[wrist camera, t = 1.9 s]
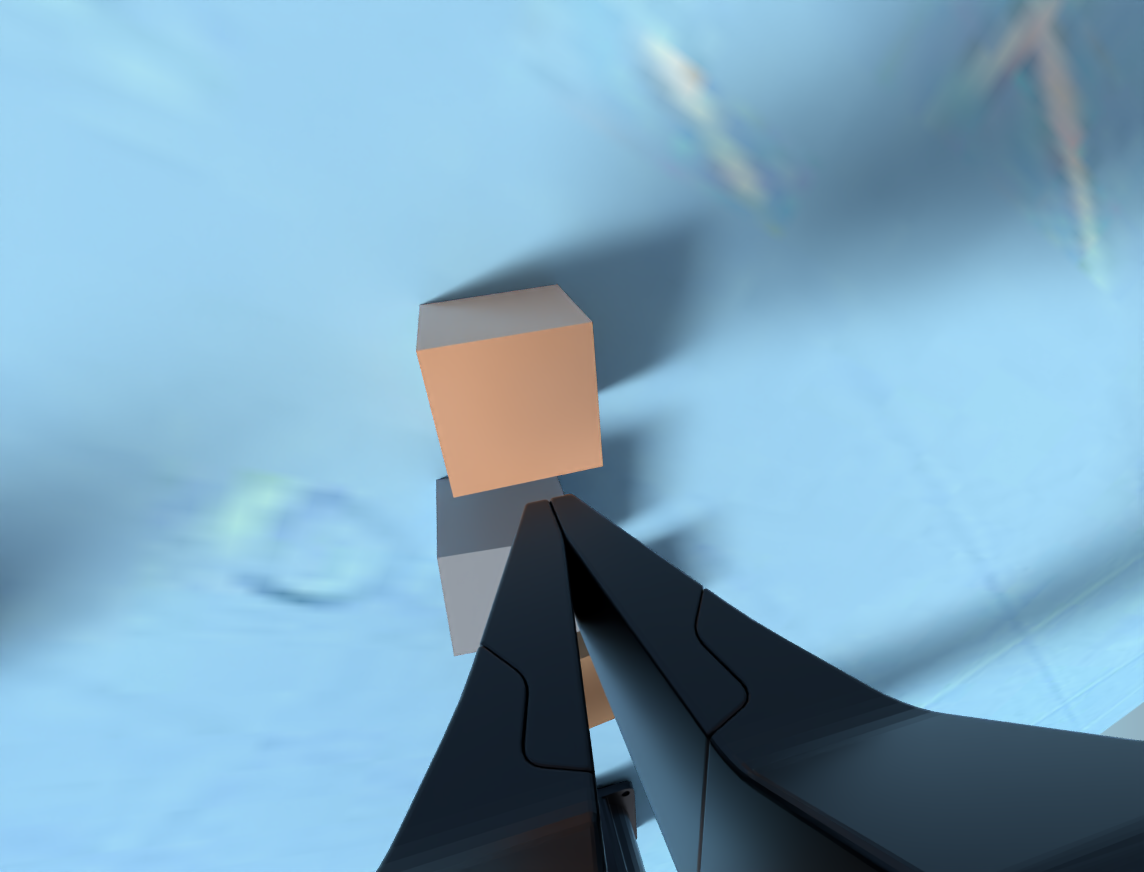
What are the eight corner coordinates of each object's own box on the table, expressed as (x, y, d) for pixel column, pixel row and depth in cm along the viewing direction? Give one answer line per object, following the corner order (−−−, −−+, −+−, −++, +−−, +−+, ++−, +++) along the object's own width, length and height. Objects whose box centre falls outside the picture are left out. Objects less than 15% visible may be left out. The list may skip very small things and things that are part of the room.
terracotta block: (569, 404, 17) (602, 466, 14) (449, 426, 17) (453, 497, 13) (556, 283, 15) (592, 321, 12) (419, 304, 15) (415, 351, 11)
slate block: (554, 550, 20) (579, 631, 17) (450, 567, 19) (454, 655, 16) (552, 463, 18) (579, 535, 15) (435, 478, 17) (436, 557, 14)
